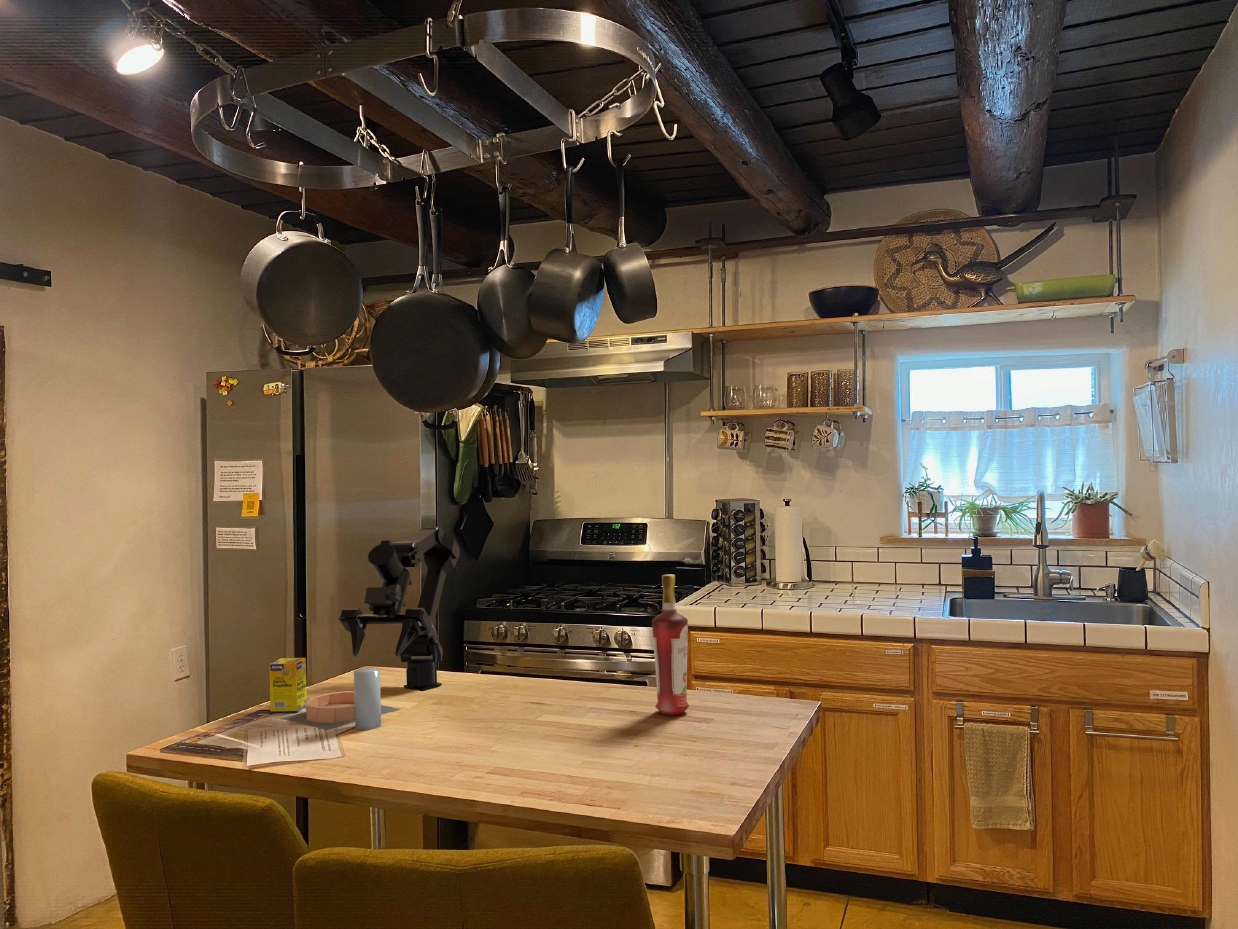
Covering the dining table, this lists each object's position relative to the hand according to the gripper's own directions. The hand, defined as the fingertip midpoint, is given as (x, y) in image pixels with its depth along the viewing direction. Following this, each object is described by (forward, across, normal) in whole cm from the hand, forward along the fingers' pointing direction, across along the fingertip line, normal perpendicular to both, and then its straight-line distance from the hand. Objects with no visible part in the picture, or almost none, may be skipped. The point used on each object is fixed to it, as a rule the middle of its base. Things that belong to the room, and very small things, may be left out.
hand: (375, 655), depth 188 cm
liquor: (+6, +61, +13) cm, 63 cm away
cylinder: (+15, +2, +2) cm, 15 cm away
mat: (+9, -8, +9) cm, 15 cm away
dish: (+9, -8, +9) cm, 15 cm away
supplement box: (+7, -22, +11) cm, 25 cm away
